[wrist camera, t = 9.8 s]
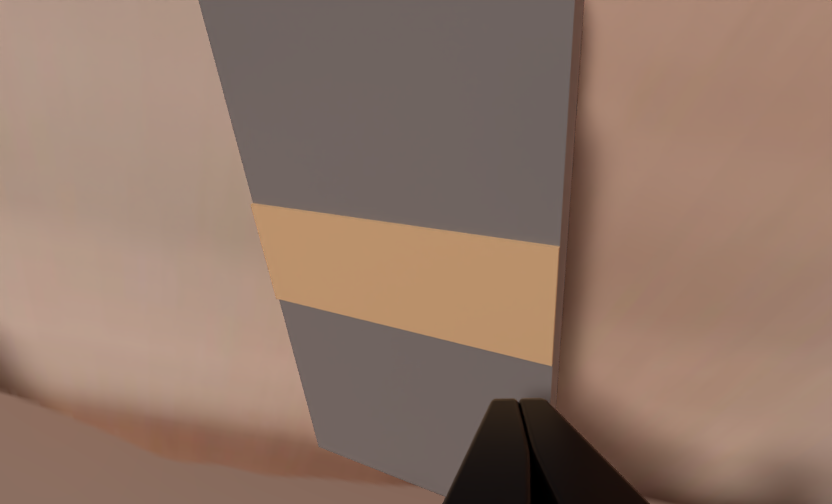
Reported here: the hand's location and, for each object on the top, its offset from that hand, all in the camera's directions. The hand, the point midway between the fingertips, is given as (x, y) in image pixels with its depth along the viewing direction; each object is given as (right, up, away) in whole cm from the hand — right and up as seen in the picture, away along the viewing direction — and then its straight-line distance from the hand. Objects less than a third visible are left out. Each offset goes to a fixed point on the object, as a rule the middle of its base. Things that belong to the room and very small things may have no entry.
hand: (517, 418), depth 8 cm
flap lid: (-2, +2, +5) cm, 6 cm away
